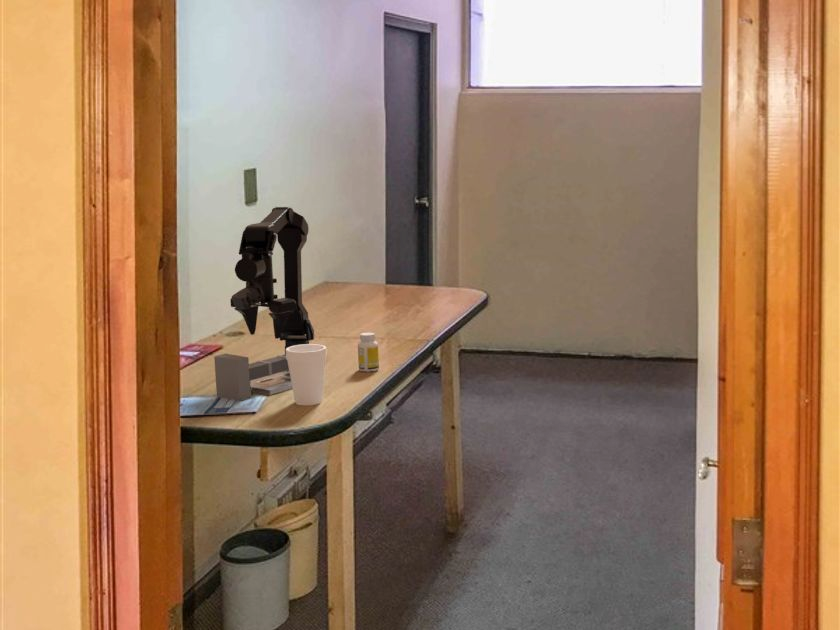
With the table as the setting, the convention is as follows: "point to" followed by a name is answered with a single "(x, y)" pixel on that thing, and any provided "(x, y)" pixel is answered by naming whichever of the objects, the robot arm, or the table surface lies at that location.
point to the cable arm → (267, 367)
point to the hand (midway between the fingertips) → (264, 336)
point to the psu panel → (272, 383)
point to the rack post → (232, 376)
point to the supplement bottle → (368, 353)
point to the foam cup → (307, 372)
